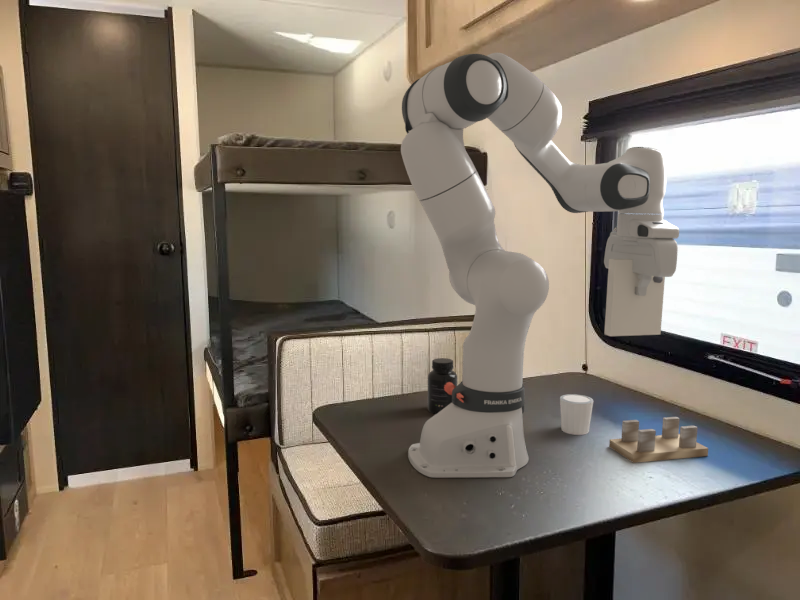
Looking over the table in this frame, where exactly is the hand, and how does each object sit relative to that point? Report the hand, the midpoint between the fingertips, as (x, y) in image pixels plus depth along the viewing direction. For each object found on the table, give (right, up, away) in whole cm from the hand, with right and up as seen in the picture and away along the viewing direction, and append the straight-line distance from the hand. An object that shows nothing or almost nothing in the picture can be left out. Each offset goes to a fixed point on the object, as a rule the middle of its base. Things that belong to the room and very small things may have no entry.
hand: (635, 294), depth 130 cm
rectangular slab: (0, -9, +1) cm, 9 cm away
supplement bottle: (-40, -27, +13) cm, 50 cm away
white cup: (-12, -29, +1) cm, 32 cm away
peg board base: (+1, -31, -10) cm, 32 cm away
